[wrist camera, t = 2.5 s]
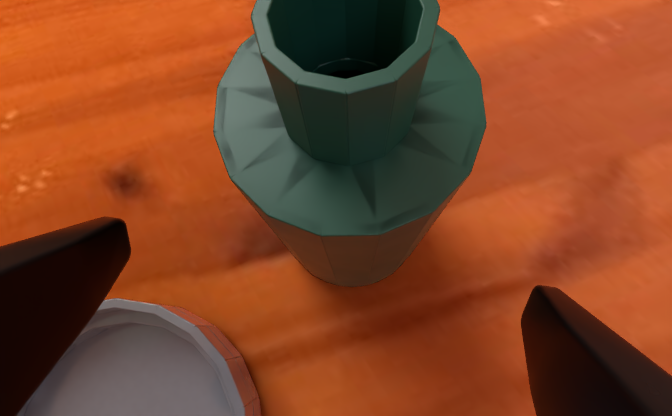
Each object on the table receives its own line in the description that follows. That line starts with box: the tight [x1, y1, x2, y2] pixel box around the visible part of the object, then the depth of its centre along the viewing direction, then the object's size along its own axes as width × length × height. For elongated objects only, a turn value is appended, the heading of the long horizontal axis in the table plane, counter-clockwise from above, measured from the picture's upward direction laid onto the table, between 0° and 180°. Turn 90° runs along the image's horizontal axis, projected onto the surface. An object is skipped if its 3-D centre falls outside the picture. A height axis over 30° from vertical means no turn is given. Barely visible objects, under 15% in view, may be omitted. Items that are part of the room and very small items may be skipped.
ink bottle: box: [213, 0, 486, 287], centre depth 14 cm, size 7×7×14 cm
